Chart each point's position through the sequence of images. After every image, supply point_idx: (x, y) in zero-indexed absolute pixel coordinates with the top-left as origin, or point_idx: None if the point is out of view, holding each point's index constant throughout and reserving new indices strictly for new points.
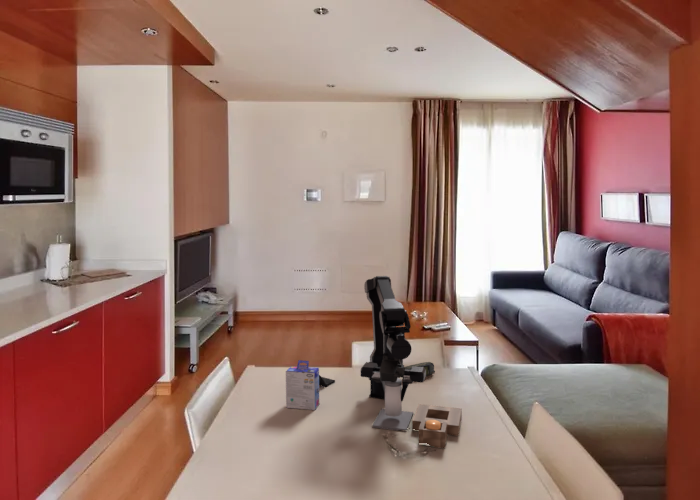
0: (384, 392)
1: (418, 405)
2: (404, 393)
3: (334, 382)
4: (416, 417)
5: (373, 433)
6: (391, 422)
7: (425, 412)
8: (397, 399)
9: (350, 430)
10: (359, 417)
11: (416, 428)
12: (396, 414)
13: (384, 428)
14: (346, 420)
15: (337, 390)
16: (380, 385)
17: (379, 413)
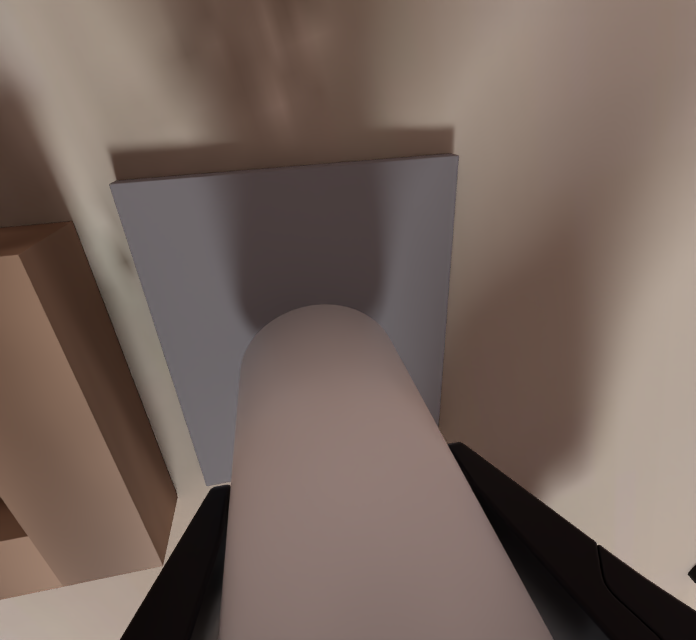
0: (491, 525)
1: (149, 547)
2: (140, 615)
3: (691, 570)
4: (19, 344)
5: (416, 16)
6: (305, 274)
7: (3, 472)
8: (257, 465)
9: (636, 12)
10: (566, 289)
11: (11, 232)
12: (267, 334)
13: (338, 164)
14: (660, 206)
15: (684, 522)
16: (660, 629)
17: (436, 379)
